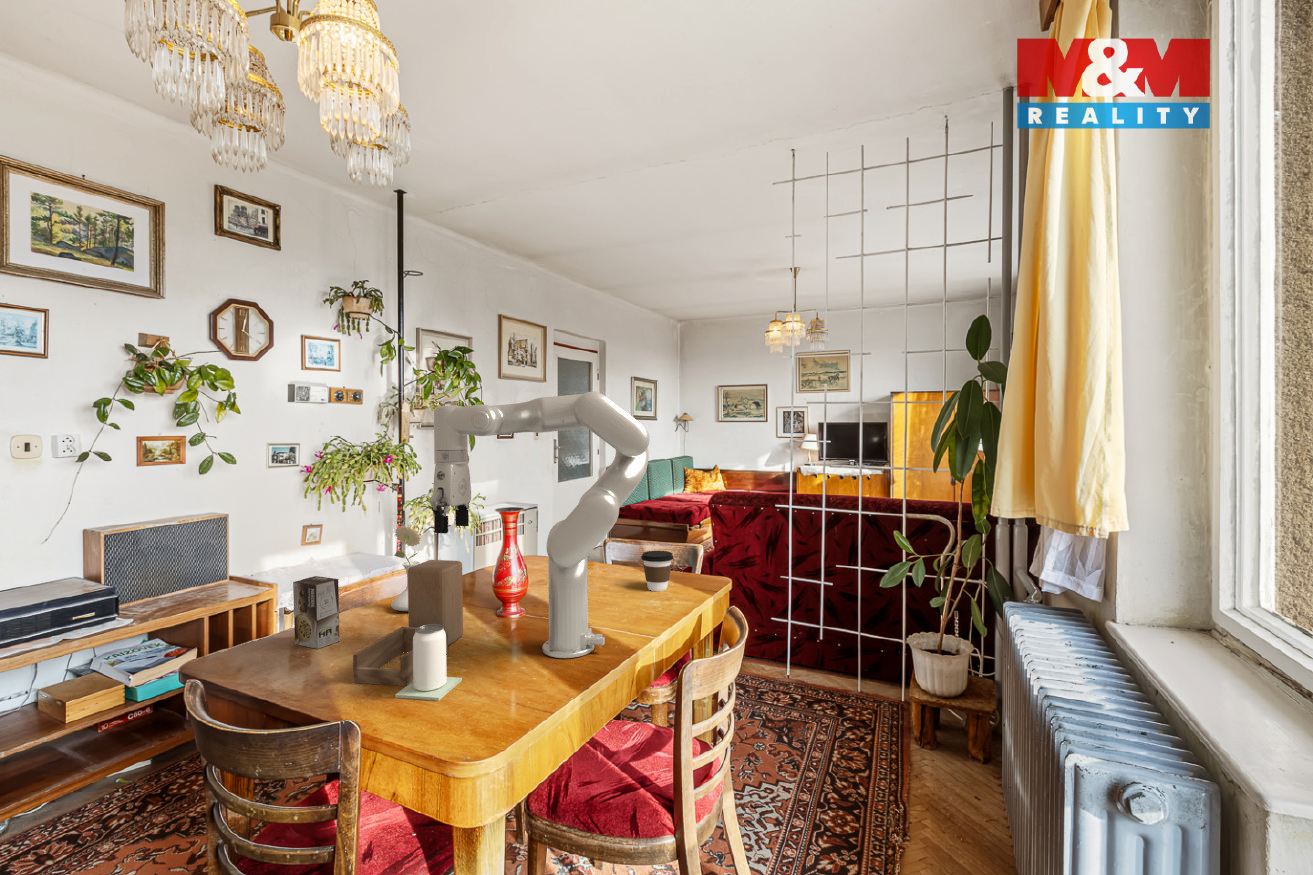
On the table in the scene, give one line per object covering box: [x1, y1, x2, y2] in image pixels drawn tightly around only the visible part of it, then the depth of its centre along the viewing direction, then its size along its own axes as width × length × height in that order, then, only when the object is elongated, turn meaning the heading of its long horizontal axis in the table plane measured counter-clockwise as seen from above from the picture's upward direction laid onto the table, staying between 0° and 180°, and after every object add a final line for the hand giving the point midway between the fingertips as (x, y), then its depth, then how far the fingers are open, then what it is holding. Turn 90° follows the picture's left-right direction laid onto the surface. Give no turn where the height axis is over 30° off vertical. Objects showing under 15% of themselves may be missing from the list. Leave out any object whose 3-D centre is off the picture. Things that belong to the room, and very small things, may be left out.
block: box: [407, 559, 464, 646], centre depth 150 cm, size 10×10×20 cm
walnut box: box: [352, 626, 449, 687], centre depth 134 cm, size 12×18×6 cm, turn 171°
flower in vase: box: [390, 525, 421, 612], centre depth 179 cm, size 13×11×25 cm
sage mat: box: [394, 676, 463, 702], centre depth 123 cm, size 10×10×1 cm
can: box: [412, 624, 448, 692], centre depth 123 cm, size 6×6×12 cm
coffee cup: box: [640, 550, 674, 592], centre depth 198 cm, size 11×11×12 cm
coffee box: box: [292, 575, 340, 650], centre depth 150 cm, size 9×6×16 cm
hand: (452, 529), depth 140 cm, fingers open, 9 cm apart
